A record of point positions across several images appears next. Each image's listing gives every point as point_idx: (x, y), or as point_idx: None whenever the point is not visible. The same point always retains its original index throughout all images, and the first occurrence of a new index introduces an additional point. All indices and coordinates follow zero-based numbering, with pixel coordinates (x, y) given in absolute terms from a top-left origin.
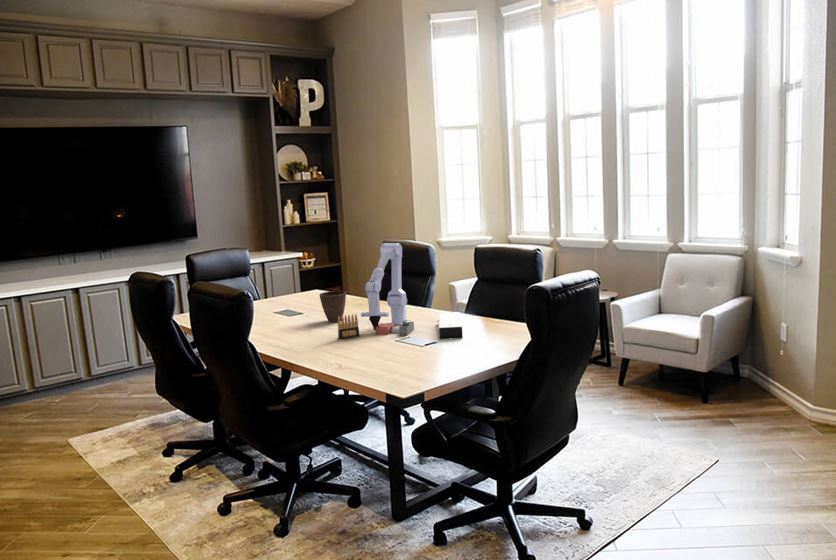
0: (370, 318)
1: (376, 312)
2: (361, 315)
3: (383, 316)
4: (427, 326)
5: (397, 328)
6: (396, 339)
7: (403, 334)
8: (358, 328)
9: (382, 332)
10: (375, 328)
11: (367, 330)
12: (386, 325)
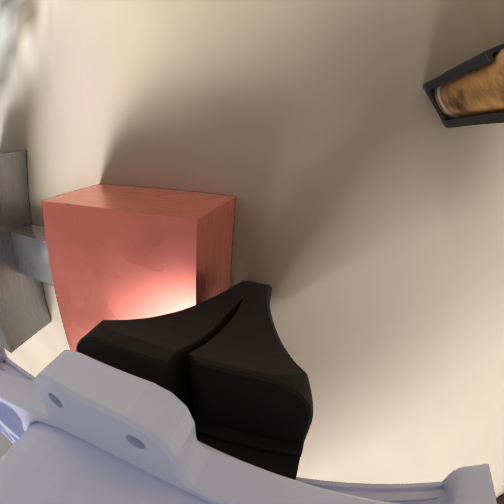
0: (256, 378)
1: (11, 447)
2: (486, 487)
3: (29, 376)
4: (17, 357)
5: (49, 282)
6: (31, 36)
7: (5, 153)
8: (475, 57)
9: (143, 192)
10: (206, 213)
11: (371, 374)
12: (84, 287)
